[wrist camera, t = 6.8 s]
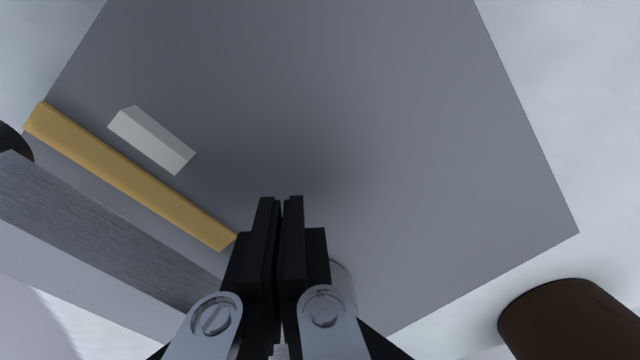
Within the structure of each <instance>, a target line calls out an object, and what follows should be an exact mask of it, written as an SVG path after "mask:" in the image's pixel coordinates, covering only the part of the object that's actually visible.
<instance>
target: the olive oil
mask: <svg viewBox="0 0 640 360" xmlns="http://www.w3.org/2000/svg"><path fill="white" fill-rule="evenodd" d="M498 330H499V333H500V335H501V337H502V338H503V340H504V341H505V343H506V345H507V346H508V348H509V349H510V351H511V352H512V354H513V355H514V356H515V358H516V360H640V317H638V316H637V315H636V314H634V313H633V312H632V311H631V310H629V309H628V308H627V307H625V306H624V305H623V304H621V303H620V302H619V301H618V300H616V299H615V298H614V297H612V296H611V295H610V294H608V293H607V292H606V291H605V290H603V289H602V288H600V287H599V286H598V285H596V284H594V283H592V282H590V281H586V280H579V279H569V280H561V281H557V282H553V283H549V284H546V285H543V286H541V287H538V288H536V289H534V290H532V291H530V292H528V293H526V294H525V295H523V296H521V297H520V298H518V299H517V300H516V301H514V302H513V303H512V304H511V305H510V306H509V307H508V308H507V309H506V310H505V311H504V313H503V314H502V316H501V318H500V320H499V324H498Z"/></svg>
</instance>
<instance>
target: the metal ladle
mask: <svg viewBox="0 0 640 360" xmlns="http://www.w3.org/2000/svg"><path fill="white" fill-rule="evenodd" d="M329 264H330V272H331V279H332V286H335V287H337V288H339V289H341V290H342V291H343V292H344V293H345V294H346V295H347V297H348V299H349V301H350V303H351V305H352V308H353V311H354V314H355V316H356V317H358V318H359V319H360V320H361V317H360V313H359V308H358V304H357V299H356V295H355V290H354V286H353V282H352V279H351V277H350V276H349V274H348V273H347V272H346V271H345V270H344V269H343V268H342V267H341V266H339V265H338V264H336V263H334V262H332V261H330V260H329ZM0 272H1V273H3V274H5V275H8V276H10V277H12V278H15V279H17V280H19V281H21V282H24V283H26V284H28V285H30V286H33V287H35V288H37V289H39V290H42V291H44V292H46V293H49V294H51V295H53V296H55V297H58V298H60V299H62V300H64V301H67V302H69V303H71V304H74V305H76V306H78V307H80V308H83V309H85V310H87V311H89V312H92V313H94V314H96V315H99V316H101V317H103V318H105V319H108V320H110V321H112V322H114V323H117V324H119V325H121V326H124V327H126V328H128V329H130V330H133V331H135V332H137V333H139V334H142V335H144V336H146V337H149V338H151V339H153V340H155V341H158V342H160V343H162V344H164V345H166V344H168V343H169V342H170V341H171V340H172V339H173V338H174V336H175V334H176V332H177V331H178V329H179V327H180V326H181V324H182V322H183V320H184V319H185V317H186V315H187V313H188V312H189V311H190V309H191V308H192V307H193V306H194V305H195V304H196V303H197V302H198V301H199V300H200V299H202V298H204V297H206V296H207V295H209V294H212V293H215V292H219V290H220V287H221V284H222V281H223V280H221V279H220V278H218V277H216V276H215V275H213V274H211V273H210V272H208V271H207V270H205V269H203V268H202V267H200V266H199V265H197V264H195V263H194V262H192V261H191V260H189V259H187V258H186V257H184V256H183V255H181V254H179V253H178V252H176V251H175V250H173V249H171V248H170V247H168V246H167V245H165V244H163V243H162V242H160V241H159V240H157V239H155V238H154V237H152V236H150V235H149V234H147V233H146V232H144V231H142V230H141V229H139V228H138V227H136V226H134V225H133V224H131V223H130V222H128V221H126V220H125V219H123V218H122V217H120V216H118V215H117V214H115V213H114V212H112V211H110V210H109V209H107V208H106V207H104V206H102V205H101V204H99V203H98V202H96V201H94V200H93V199H91V198H89V197H88V196H86V195H85V194H83V193H81V192H80V191H78V190H77V189H75V188H73V187H72V186H70V185H69V184H67V183H65V182H64V181H62V180H61V179H59V178H57V177H56V176H54V175H53V174H51V173H49V172H48V171H46V170H45V169H43V168H41V167H40V166H38V165H37V164H35V159H34V155H33V152H32V150H31V148H30V146H29V145H28V143H27V142H26V141H25V140H24V138H23V137H22V136H21V135H20V134H19V133H18V132H17V131H15V130H14V129H13V128H12V127H10V126H9V125H7V124H6V123H4V122H3V121H1V120H0ZM268 360H290V357H289V350H288V344H285V340H284V333H283V326H282V327H281V341H280V344H275V345H274V354H273V356H269V359H268Z"/></svg>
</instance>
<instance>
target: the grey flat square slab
mask: <svg viewBox="0 0 640 360" xmlns="http://www.w3.org/2000/svg"><path fill="white" fill-rule="evenodd" d="M22 129H24V132H23V133H22V135H21V136H22V137H23V138H24V140H25V141H26V142H27V143H28V145H29V146H30V148H31V150H32V152H33V155H34V159H35V164H37V165H38V166H40V167H41V168H43V169H45V170H46V171H48V172H49V173H51V174H53V175H54V176H56V177H57V178H59V179H61V180H62V181H64V182H65V183H67V184H69V185H70V186H72V187H73V188H75V189H77V190H78V191H80V192H81V193H83V194H85V195H86V196H88V197H89V198H91V199H93V200H94V201H96V202H98V203H99V204H101V205H102V206H104V207H106V208H107V209H109V210H110V211H112V212H114V213H115V214H117V215H118V216H120V217H122V218H123V219H125V220H126V221H128V222H130V223H131V224H133V225H134V226H136V227H138V228H139V229H141V230H142V231H144V232H146V233H147V234H149V235H150V236H152V237H154V238H155V239H157V240H159V241H160V242H162V243H163V244H165V245H167V246H168V247H170V248H171V249H173V250H175V251H176V252H178V253H179V254H181V255H183V256H184V257H186V258H187V259H189V260H191V261H192V262H194V263H195V264H197V265H199V266H200V267H202V268H203V269H205V270H207V271H208V272H210V273H211V274H213V275H215V276H216V277H218V278H220V279H221V280H223V278H224V275H225V272H226V269H227V266H228V263H229V260H230V257H231V254H232V251H233V247H234V244H235V241H236V238H237V235H238V233H239V232H244V231H251V229H252V225H253V221H254V218H255V214H256V210H257V206H258V203H259V199H260V197H273V196H274V197H275V200H280V202H281V211H282V215H283V206H284V200H286V199H289V196H293V195H303V199H304V217H305V228H315V227H324V228H325V235H326V242H327V250H328V257H329V260H330V261H332V262H334V263H336V264H338V265H339V266H341V267H342V268H343V269H344V270H345V271H346V272H347V273H348V274H349V276H350V277H351V279H352V282H353V286H354V290H355V295H356V299H357V304H358V308H359V313H360V317H361V320H362V321H363V322H364V323H366V324H367V325H369V326H370V327H371V328H373V329H374V330H375V331H377V332H378V333H379V334H381V335H382V336H383V337H385V338H386V337H388V336H390V335H392V334H393V333H395V332H397V331H399V330H401V329H403V328H404V327H406V326H408V325H410V324H412V323H414V322H415V321H417V320H419V319H421V318H423V317H425V316H427V315H428V314H430V313H432V312H434V311H436V310H438V309H439V308H441V307H443V306H445V305H447V304H449V303H451V302H452V301H454V300H456V299H458V298H460V297H462V296H463V295H465V294H467V293H469V292H471V291H473V290H475V289H476V288H478V287H480V286H482V285H484V284H486V283H487V282H489V281H491V280H493V279H495V278H497V277H499V276H500V275H502V274H504V273H506V272H508V271H510V270H511V269H513V268H515V267H517V266H519V265H521V264H523V263H524V262H526V261H528V260H530V259H532V258H534V257H535V256H537V255H539V254H541V253H543V252H545V251H546V250H548V249H550V248H552V247H554V246H556V245H558V244H559V243H561V242H563V241H565V240H567V239H569V238H570V237H572V236H574V235H576V234H578V233H580V232H579V230H578V227H577V225H576V223H575V221H574V219H573V216H572V214H571V212H570V210H569V208H568V206H567V203H566V201H565V199H564V197H563V195H562V193H561V190H560V188H559V186H558V184H557V182H556V179H555V177H554V175H553V173H552V171H551V169H550V166H549V164H548V162H547V160H546V158H545V155H544V153H543V151H542V149H541V147H540V145H539V142H538V140H537V138H536V136H535V134H534V131H533V129H532V127H531V125H530V123H529V121H528V118H527V116H526V114H525V112H524V110H523V108H522V105H521V103H520V101H519V99H518V97H517V94H516V92H515V90H514V88H513V86H512V84H511V81H510V79H509V77H508V75H507V73H506V70H505V68H504V66H503V64H502V62H501V60H500V57H499V55H498V53H497V51H496V49H495V46H494V44H493V42H492V40H491V38H490V36H489V33H488V31H487V29H486V27H485V25H484V23H483V20H482V18H481V16H480V14H479V12H478V9H477V7H476V5H475V3H474V1H473V0H108V1H107V2H106V4H105V5H104V7H103V8H102V10H101V12H100V13H99V15H98V16H97V18H96V19H95V21H94V23H93V24H92V26H91V27H90V29H89V30H88V32H87V33H86V35H85V37H84V38H83V40H82V41H81V43H80V44H79V46H78V47H77V49H76V51H75V52H74V54H73V55H72V57H71V58H70V60H69V62H68V63H67V65H66V66H65V68H64V69H63V71H62V72H61V74H60V76H59V77H58V79H57V80H56V82H55V83H54V85H53V86H52V88H51V90H50V91H49V93H48V94H47V96H46V97H45V99H44V100H43V101H40V102H38V104H37V105H36V107H35V109H34V110H33V112H32V113H31V115H30V116H29V118H28V120H27V121H26V123H25V124H24V126H23V127H22Z"/></svg>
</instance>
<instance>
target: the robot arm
mask: <svg viewBox="0 0 640 360" xmlns="http://www.w3.org/2000/svg"><path fill="white" fill-rule="evenodd" d="M282 326H283V333H284V340H285V344H288V350H289V357H290V360H414V359H413V358H412V357H410V356H409V355H408V354H406V353H405V352H404V351H402V350H401V349H400V348H398V347H397V346H396V345H394V344H393V343H391V342H390V341H389V340H387V339H386V338H385V337H383V336H382V335H381V334H379V333H378V332H377V331H375V330H374V329H373V328H371V327H370V326H369V325H367V324H366V323H364V322H363V321H362V320H360V319H359V318H358V317H356V316H355V314H354V311H353V308H352V305H351V303H350V301H349V299H348V297H347V295H346V294H345V293H344V292H343V291H342V290H341V289H339V288H337V287H335V286H332V279H331V272H330V264H329V257H328V250H327V242H326V235H325V228H324V227H315V228H305V217H304V199H303V195H293V196H289V199H286V200H284V206H283V215H282V211H281V202H280V200H275V197H274V196H273V197H260V199H259V203H258V206H257V210H256V214H255V218H254V221H253V225H252V229H251V231H244V232H239V233H238V235H237V238H236V241H235V244H234V247H233V251H232V254H231V257H230V260H229V263H228V266H227V269H226V272H225V275H224V278H223V281H222V284H221V287H220V290H219V292H215V293H212V294H209V295H207V296H206V297H204V298H202V299H200V300H199V301H198V302H197V303H196V304H195V305H194V306H193V307H192V308H191V309H190V311H189V312H188V313H187V315H186V317H185V319H184V320H183V322H182V324H181V326H180V327H179V329H178V331H177V332H176V334H175V336H174V338H173V339H172V340H171V341H170V342H169V343H168V344H166V345H165V346H164V347H162V348H161V349H160V350H158V351H157V352H156V353H154V354H153V355H152V356H150V357H149V358H148V359H146V360H268V359H269V356H273V354H274V345H275V344H280V341H281V327H282Z"/></svg>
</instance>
